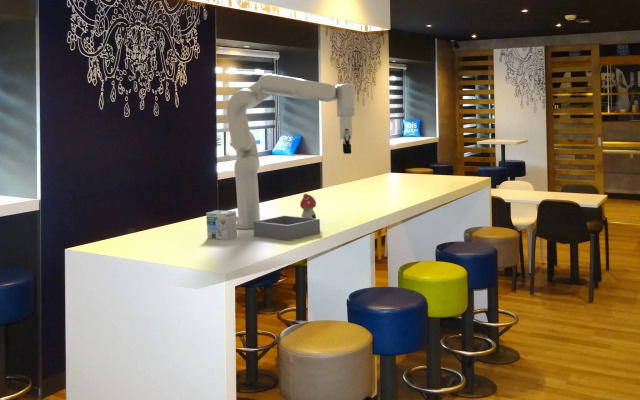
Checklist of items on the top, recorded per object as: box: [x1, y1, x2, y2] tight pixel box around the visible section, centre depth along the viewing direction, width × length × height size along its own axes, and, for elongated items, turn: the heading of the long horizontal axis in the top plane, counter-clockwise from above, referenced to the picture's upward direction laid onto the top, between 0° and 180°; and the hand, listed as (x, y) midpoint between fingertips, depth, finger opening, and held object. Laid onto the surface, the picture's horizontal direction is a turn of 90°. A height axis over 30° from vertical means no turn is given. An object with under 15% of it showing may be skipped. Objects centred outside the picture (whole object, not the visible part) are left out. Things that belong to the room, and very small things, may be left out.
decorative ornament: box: [299, 193, 317, 219], centre depth 299 cm, size 9×7×15 cm
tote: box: [253, 214, 321, 242], centre depth 284 cm, size 20×18×6 cm
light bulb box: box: [205, 209, 238, 241], centre depth 283 cm, size 11×7×11 cm, turn 58°
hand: (347, 152), depth 302 cm, fingers open, 9 cm apart
